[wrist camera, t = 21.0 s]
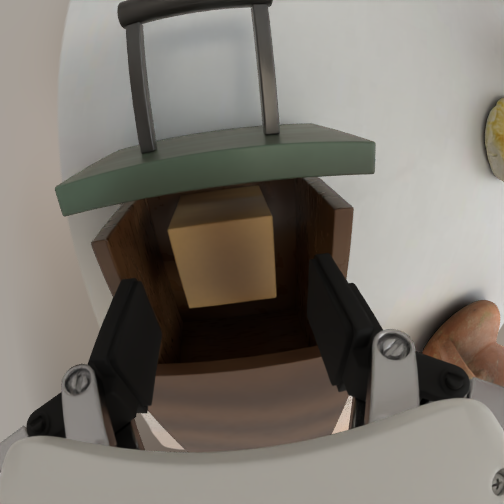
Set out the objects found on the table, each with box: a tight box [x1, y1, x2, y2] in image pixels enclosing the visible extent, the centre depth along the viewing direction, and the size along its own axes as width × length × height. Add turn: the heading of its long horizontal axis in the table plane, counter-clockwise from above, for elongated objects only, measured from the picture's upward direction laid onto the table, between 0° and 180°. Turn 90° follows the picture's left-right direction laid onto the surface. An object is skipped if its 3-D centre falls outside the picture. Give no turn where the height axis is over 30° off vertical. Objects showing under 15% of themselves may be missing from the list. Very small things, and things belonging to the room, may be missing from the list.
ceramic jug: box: [422, 300, 504, 387], centre depth 23 cm, size 18×14×14 cm
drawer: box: [55, 0, 376, 364], centre depth 13 cm, size 21×11×7 cm, turn 5°
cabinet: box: [148, 345, 349, 452], centre depth 20 cm, size 15×13×9 cm
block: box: [167, 185, 277, 308], centre depth 14 cm, size 4×4×4 cm
